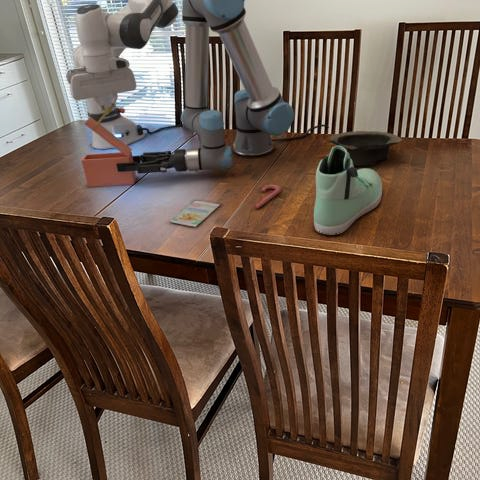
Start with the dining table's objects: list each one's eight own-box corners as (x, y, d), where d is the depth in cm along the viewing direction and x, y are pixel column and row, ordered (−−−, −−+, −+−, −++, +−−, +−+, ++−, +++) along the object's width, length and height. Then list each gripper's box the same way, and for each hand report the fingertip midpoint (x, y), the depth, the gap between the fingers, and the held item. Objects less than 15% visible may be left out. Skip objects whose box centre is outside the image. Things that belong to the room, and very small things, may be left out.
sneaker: (389, 187, 148) (396, 123, 138) (356, 242, 123) (361, 168, 112) (346, 181, 154) (350, 119, 144) (306, 232, 129) (307, 161, 118)
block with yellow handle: (84, 124, 153) (98, 104, 150) (88, 118, 158) (102, 99, 155) (127, 157, 159) (142, 139, 156) (130, 151, 164) (145, 133, 160)
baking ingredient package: (169, 220, 138) (195, 199, 150) (169, 222, 139) (195, 200, 150) (195, 225, 135) (220, 203, 146) (195, 227, 135) (220, 205, 147)
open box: (88, 187, 165) (81, 160, 160) (92, 180, 170) (85, 154, 164) (133, 184, 165) (128, 157, 159) (136, 177, 169) (131, 151, 164)
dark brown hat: (359, 176, 156) (359, 149, 151) (314, 159, 176) (313, 134, 172) (416, 158, 164) (418, 131, 160) (367, 143, 185) (368, 119, 180)
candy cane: (241, 205, 145) (241, 201, 144) (268, 186, 155) (268, 182, 154) (258, 210, 142) (258, 205, 141) (284, 190, 152) (284, 185, 151)
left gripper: (66, 71, 140) (77, 117, 147) (133, 60, 148) (141, 105, 155) (62, 67, 145) (73, 113, 152) (127, 57, 153) (135, 101, 160)
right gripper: (185, 181, 156) (115, 185, 158) (191, 160, 172) (127, 163, 173) (182, 160, 153) (110, 164, 154) (188, 140, 168) (123, 144, 169)
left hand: (108, 109), depth 154 cm, fingers closed on block with yellow handle, 2 cm apart
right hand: (119, 164), depth 163 cm, fingers closed on open box, 5 cm apart
